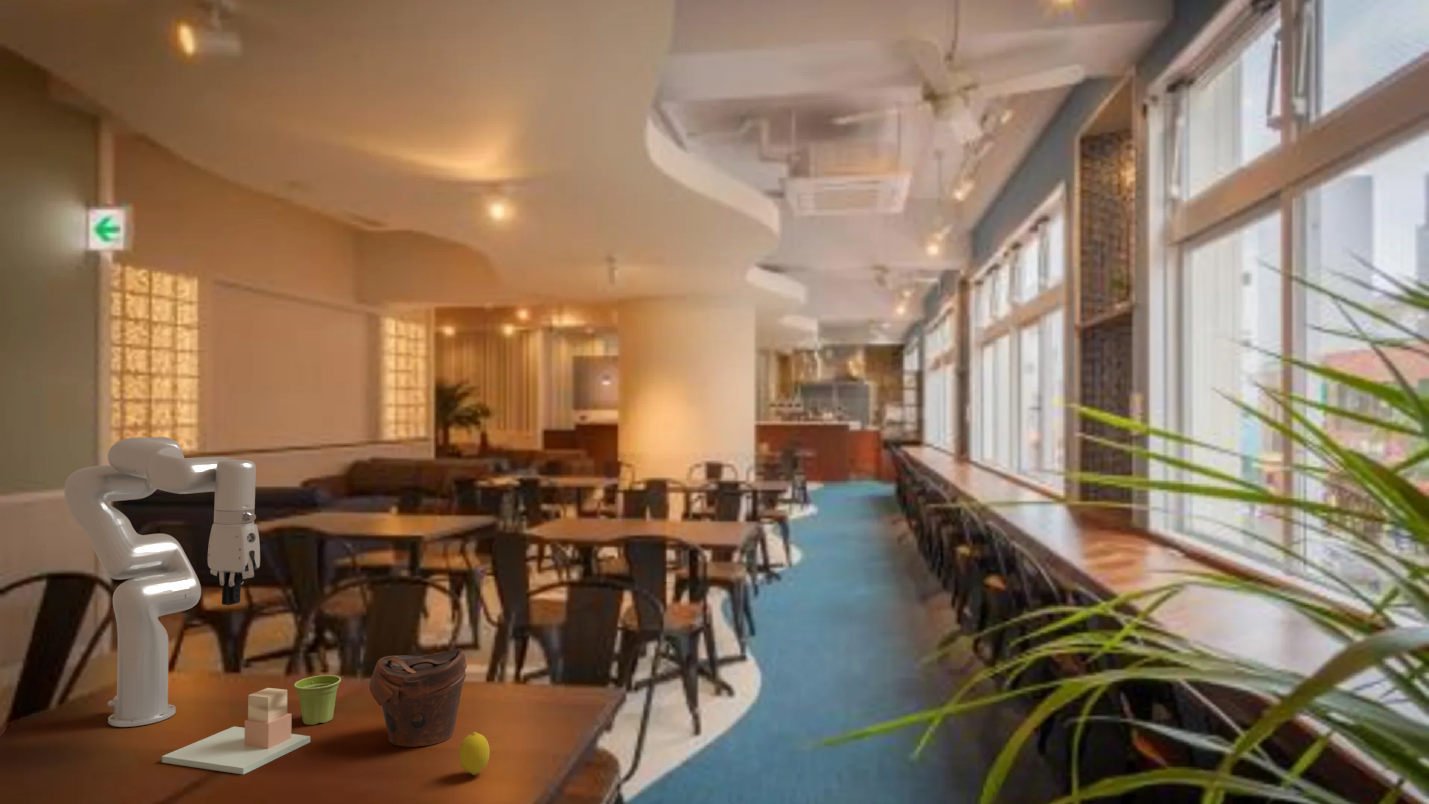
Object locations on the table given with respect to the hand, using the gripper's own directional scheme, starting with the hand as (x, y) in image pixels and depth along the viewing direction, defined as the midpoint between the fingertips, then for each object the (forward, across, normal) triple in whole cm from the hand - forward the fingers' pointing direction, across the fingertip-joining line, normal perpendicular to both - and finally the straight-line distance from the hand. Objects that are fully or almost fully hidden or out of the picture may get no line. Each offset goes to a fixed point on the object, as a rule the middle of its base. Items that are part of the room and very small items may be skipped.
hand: (230, 603), depth 182 cm
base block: (+26, -15, +4) cm, 30 cm away
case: (+26, -41, -11) cm, 50 cm away
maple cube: (+21, -14, +4) cm, 26 cm away
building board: (+27, -11, +7) cm, 30 cm away
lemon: (+26, -63, +3) cm, 68 cm away
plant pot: (+28, -13, -12) cm, 33 cm away
